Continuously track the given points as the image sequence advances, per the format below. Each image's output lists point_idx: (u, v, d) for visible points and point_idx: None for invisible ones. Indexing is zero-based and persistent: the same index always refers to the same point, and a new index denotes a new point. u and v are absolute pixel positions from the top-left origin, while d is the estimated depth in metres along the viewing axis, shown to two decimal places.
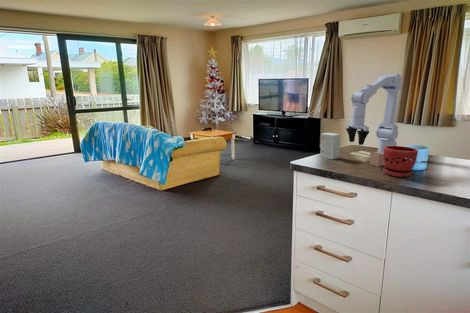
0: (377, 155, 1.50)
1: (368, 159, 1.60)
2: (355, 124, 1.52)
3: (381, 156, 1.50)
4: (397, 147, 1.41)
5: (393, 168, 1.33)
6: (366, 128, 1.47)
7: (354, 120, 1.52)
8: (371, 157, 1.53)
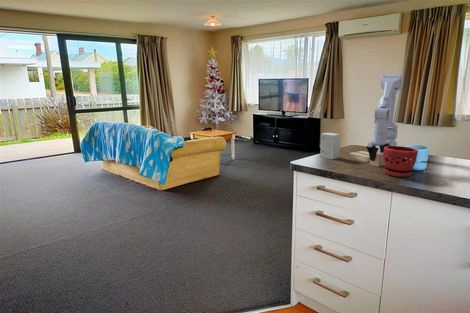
0: (377, 155, 1.50)
1: (368, 159, 1.60)
2: (373, 139, 1.52)
3: (381, 156, 1.50)
4: (397, 147, 1.41)
5: (393, 168, 1.33)
6: (368, 144, 1.48)
7: None
8: None
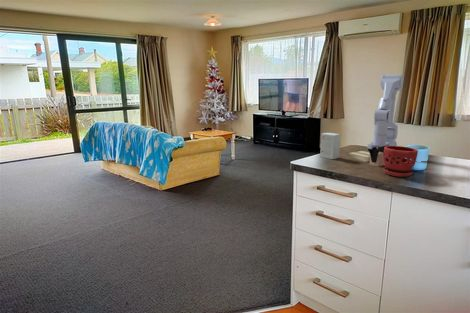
0: None
1: (368, 159, 1.60)
2: (373, 141, 1.52)
3: (381, 156, 1.50)
4: (397, 147, 1.41)
5: (393, 168, 1.33)
6: (368, 145, 1.48)
7: None
8: None
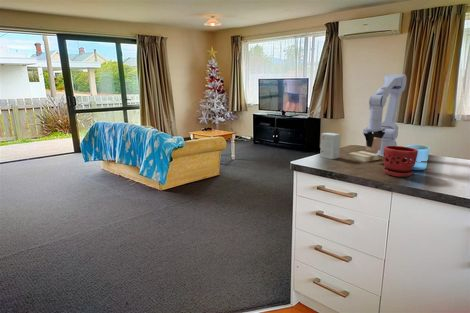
0: (373, 140, 1.53)
1: (368, 159, 1.60)
2: None
3: (377, 141, 1.53)
4: (397, 147, 1.41)
5: (393, 168, 1.33)
6: (364, 130, 1.52)
7: None
8: None
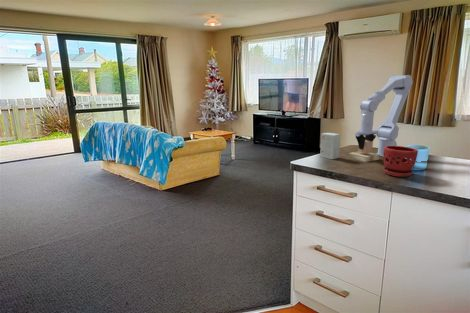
0: (364, 143, 1.61)
1: (368, 159, 1.60)
2: None
3: (368, 144, 1.61)
4: (397, 147, 1.41)
5: (393, 168, 1.33)
6: (356, 133, 1.60)
7: None
8: None
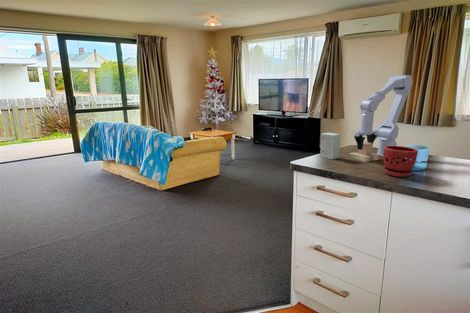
0: (364, 144, 1.62)
1: (368, 159, 1.60)
2: None
3: (368, 146, 1.62)
4: (397, 147, 1.41)
5: (393, 168, 1.33)
6: (356, 133, 1.60)
7: None
8: None
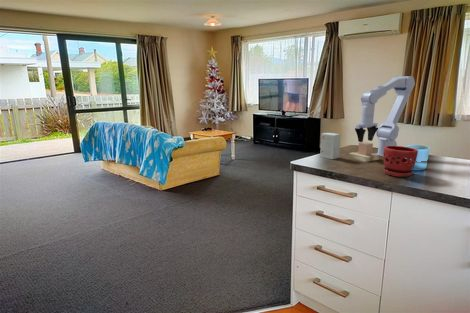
0: (364, 144, 1.61)
1: (368, 159, 1.60)
2: (361, 122, 1.63)
3: (368, 146, 1.62)
4: (397, 147, 1.41)
5: (393, 168, 1.33)
6: (356, 126, 1.59)
7: None
8: (359, 147, 1.64)
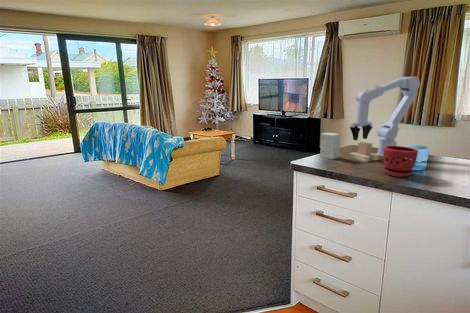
0: (364, 144, 1.62)
1: (368, 159, 1.60)
2: (356, 121, 1.68)
3: (368, 146, 1.62)
4: (397, 147, 1.41)
5: (393, 168, 1.33)
6: (351, 124, 1.64)
7: None
8: (359, 147, 1.65)
